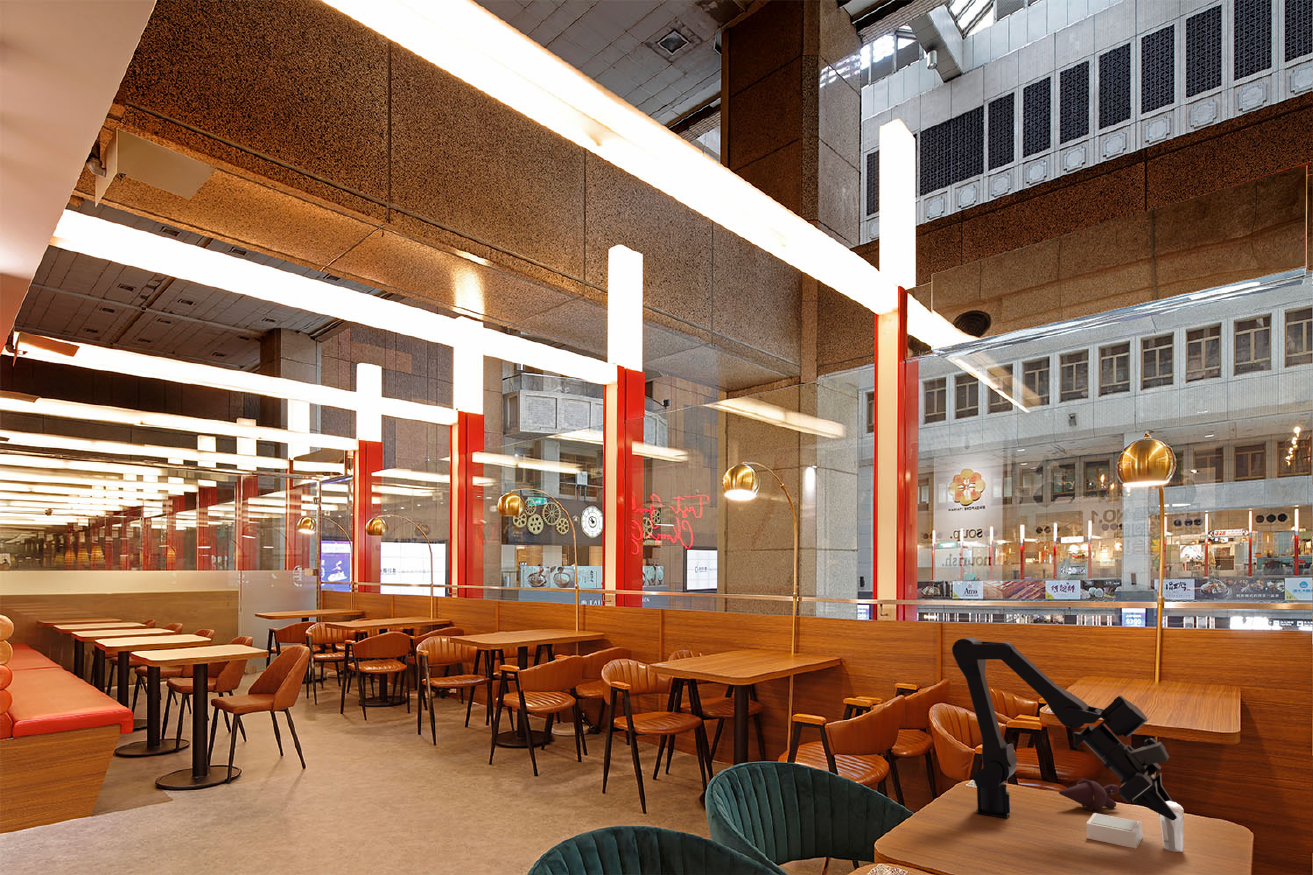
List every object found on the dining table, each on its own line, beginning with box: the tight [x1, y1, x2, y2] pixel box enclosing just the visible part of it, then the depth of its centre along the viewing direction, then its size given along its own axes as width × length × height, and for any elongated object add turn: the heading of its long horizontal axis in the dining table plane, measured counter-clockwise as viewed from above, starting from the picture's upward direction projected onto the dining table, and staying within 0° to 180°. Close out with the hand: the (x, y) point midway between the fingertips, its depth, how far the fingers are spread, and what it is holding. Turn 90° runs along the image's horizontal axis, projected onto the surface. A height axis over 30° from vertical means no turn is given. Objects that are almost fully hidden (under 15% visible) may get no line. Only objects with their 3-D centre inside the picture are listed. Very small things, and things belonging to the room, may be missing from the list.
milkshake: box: [1158, 800, 1184, 853], centre depth 161 cm, size 4×5×10 cm
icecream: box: [1058, 778, 1120, 812], centre depth 186 cm, size 7×7×15 cm
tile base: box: [1085, 812, 1143, 849], centre depth 167 cm, size 9×9×3 cm
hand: (1176, 816), depth 161 cm, fingers closed on milkshake, 4 cm apart
